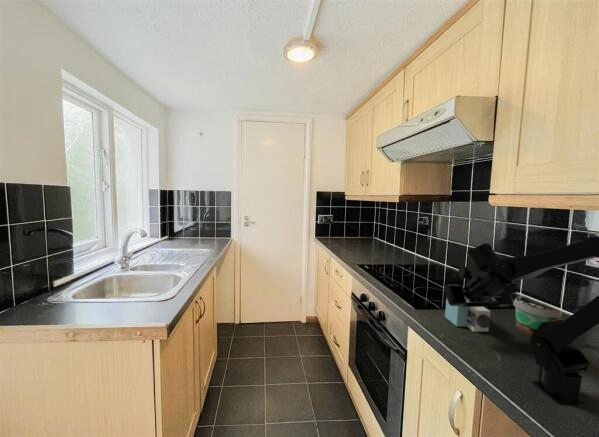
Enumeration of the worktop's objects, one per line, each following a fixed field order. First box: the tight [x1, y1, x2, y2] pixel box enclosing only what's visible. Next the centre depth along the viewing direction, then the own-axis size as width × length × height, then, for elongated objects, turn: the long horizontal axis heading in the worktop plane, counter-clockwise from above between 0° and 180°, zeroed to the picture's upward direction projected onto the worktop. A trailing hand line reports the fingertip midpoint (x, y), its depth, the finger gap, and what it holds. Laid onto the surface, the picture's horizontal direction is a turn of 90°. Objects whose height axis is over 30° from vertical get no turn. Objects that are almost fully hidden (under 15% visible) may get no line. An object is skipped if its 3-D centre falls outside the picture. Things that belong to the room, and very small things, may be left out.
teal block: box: [444, 296, 468, 327], centre depth 95 cm, size 7×4×9 cm, turn 1°
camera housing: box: [466, 307, 492, 333], centre depth 94 cm, size 13×5×8 cm, turn 1°
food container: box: [512, 296, 561, 338], centre depth 88 cm, size 12×6×10 cm, turn 21°
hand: (463, 305), depth 91 cm, fingers closed, pressing on teal block
